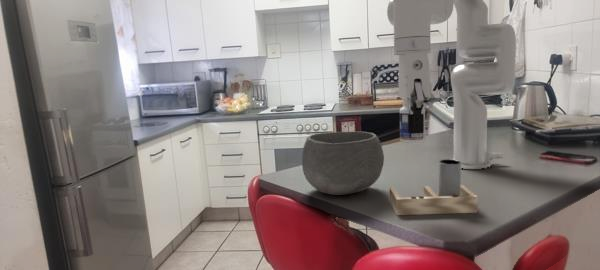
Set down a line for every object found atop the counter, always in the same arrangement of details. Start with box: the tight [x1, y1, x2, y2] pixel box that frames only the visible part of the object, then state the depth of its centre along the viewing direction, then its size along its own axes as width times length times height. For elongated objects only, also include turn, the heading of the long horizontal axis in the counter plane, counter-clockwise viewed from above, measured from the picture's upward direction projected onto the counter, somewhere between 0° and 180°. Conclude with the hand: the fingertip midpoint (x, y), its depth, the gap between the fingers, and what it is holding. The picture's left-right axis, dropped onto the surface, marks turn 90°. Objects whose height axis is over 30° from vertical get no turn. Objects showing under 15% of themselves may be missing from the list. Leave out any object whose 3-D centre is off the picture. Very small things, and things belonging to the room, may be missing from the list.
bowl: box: [301, 131, 385, 196], centre depth 103 cm, size 21×21×15 cm
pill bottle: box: [399, 98, 426, 144], centre depth 88 cm, size 5×5×10 cm
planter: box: [438, 158, 462, 196], centre depth 89 cm, size 4×4×10 cm
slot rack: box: [389, 184, 479, 216], centre depth 90 cm, size 17×9×4 cm, turn 87°
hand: (412, 130), depth 88 cm, fingers closed on pill bottle, 5 cm apart
